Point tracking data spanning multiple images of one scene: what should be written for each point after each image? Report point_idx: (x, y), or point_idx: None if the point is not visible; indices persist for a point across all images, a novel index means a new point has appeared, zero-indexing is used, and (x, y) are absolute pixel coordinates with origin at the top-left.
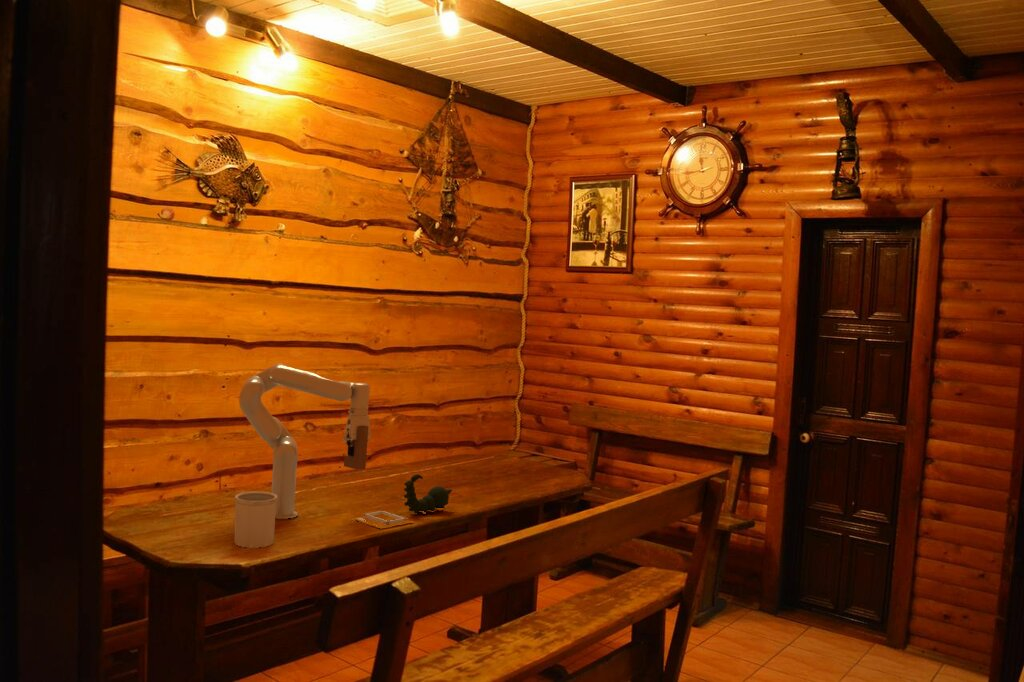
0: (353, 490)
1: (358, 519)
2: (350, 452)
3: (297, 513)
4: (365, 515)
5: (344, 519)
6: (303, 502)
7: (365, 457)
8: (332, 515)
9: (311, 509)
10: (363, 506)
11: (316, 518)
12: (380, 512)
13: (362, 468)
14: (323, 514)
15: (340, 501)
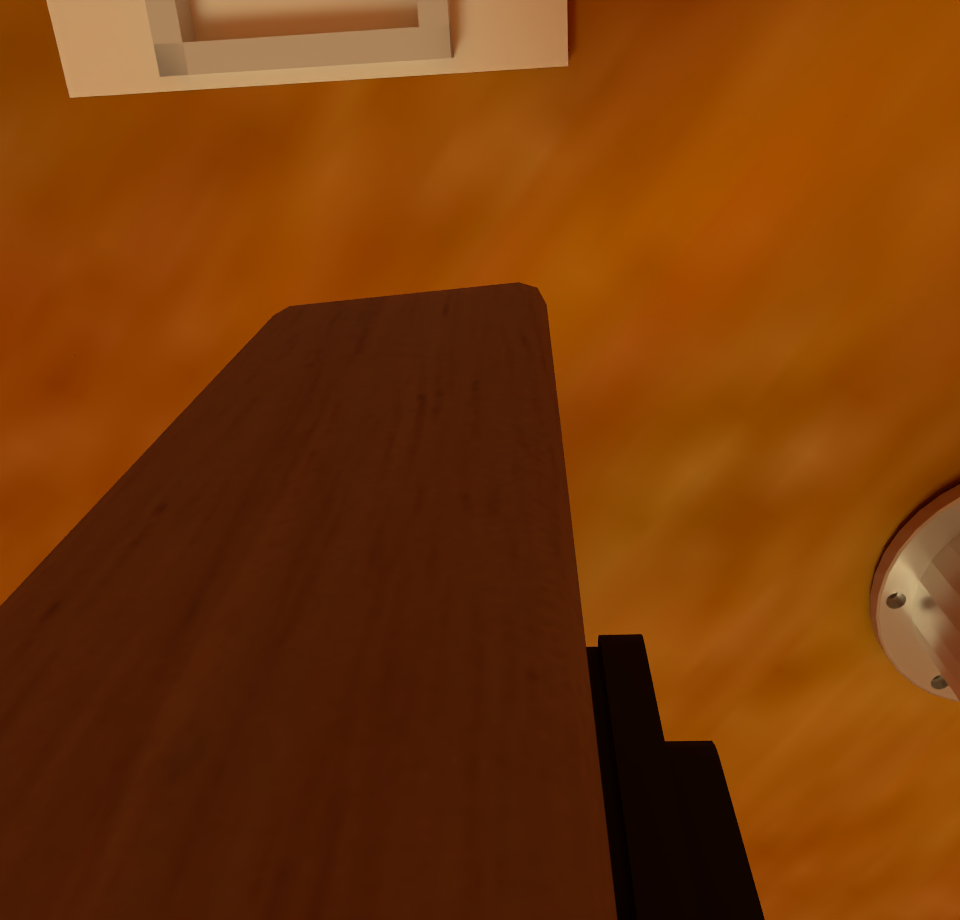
0: None
1: (565, 6)
2: (700, 766)
3: (927, 522)
4: (450, 27)
5: (625, 188)
6: None
7: (214, 410)
8: (627, 381)
9: (651, 631)
10: None
11: (830, 365)
12: (214, 40)
13: (379, 297)
14: (675, 452)
15: None
